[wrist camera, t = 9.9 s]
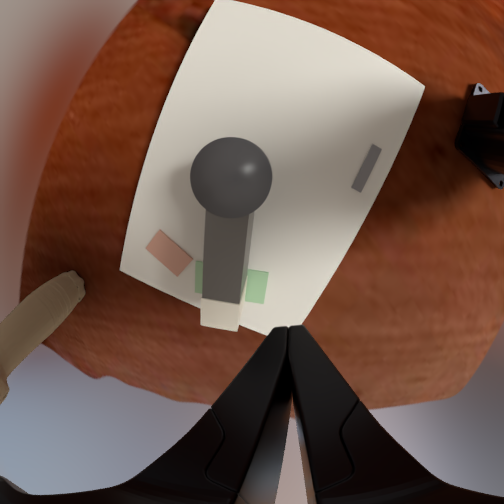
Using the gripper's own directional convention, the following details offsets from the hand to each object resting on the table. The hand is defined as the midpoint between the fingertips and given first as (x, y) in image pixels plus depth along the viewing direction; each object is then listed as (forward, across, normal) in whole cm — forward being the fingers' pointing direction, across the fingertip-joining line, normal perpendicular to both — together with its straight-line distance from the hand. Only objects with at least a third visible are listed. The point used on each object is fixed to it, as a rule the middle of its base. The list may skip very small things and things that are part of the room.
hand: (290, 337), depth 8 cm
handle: (+12, +21, +3) cm, 25 cm away
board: (+12, +2, -3) cm, 13 cm away
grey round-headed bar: (+11, +3, 0) cm, 11 cm away
